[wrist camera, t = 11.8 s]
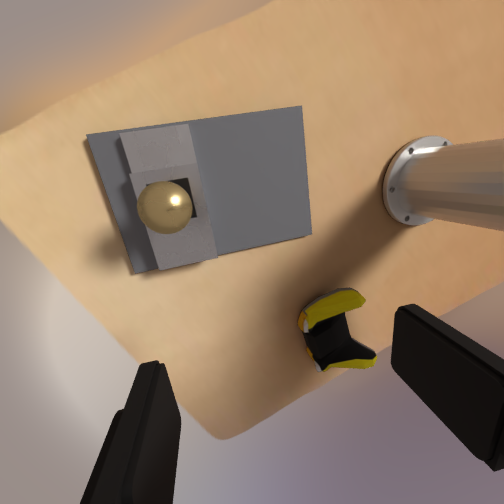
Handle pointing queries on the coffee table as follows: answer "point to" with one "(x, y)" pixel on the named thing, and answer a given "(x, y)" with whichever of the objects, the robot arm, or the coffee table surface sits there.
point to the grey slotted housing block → (165, 169)
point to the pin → (164, 207)
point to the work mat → (223, 181)
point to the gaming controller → (334, 332)
